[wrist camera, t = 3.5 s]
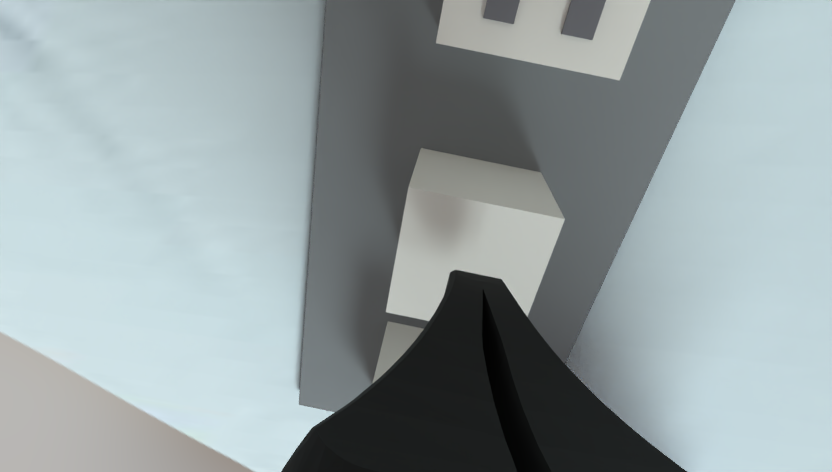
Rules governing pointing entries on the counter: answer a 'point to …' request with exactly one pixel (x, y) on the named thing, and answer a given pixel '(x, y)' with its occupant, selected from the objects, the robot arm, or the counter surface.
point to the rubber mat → (484, 140)
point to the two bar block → (547, 31)
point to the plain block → (471, 230)
